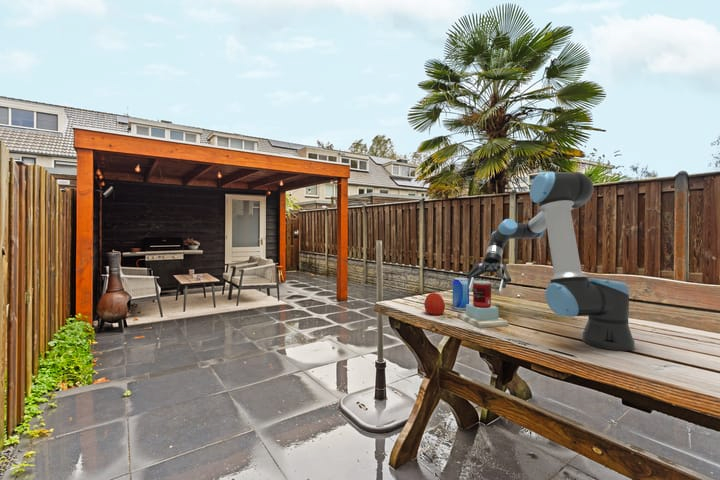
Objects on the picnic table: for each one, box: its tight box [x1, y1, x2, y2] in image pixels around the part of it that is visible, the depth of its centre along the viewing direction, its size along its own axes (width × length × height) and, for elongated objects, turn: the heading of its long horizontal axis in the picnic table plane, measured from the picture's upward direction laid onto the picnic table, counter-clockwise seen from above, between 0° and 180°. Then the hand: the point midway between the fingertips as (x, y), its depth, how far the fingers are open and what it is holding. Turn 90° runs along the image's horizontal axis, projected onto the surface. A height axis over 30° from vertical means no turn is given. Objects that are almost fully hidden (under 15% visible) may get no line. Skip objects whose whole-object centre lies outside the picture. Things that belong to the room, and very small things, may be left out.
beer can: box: [452, 277, 470, 311], centre depth 177 cm, size 8×8×16 cm
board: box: [457, 312, 509, 329], centre depth 152 cm, size 18×14×2 cm
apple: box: [423, 292, 446, 316], centre depth 167 cm, size 10×10×10 cm
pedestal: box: [465, 303, 500, 321], centre depth 152 cm, size 10×10×5 cm
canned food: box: [472, 280, 492, 308], centre depth 152 cm, size 8×8×11 cm
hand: (484, 291), depth 156 cm, fingers open, 13 cm apart
